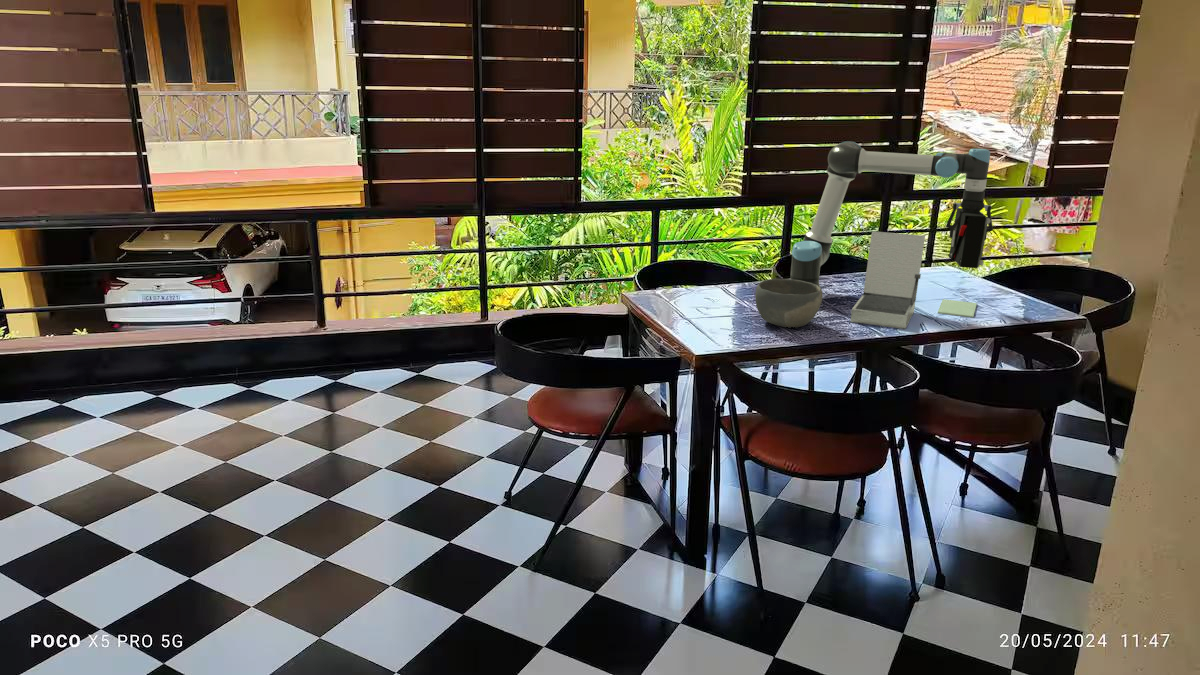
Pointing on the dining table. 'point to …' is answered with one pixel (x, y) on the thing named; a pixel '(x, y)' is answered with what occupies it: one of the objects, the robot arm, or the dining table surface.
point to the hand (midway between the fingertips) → (966, 247)
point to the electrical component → (969, 239)
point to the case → (890, 280)
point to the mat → (957, 308)
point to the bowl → (788, 301)
